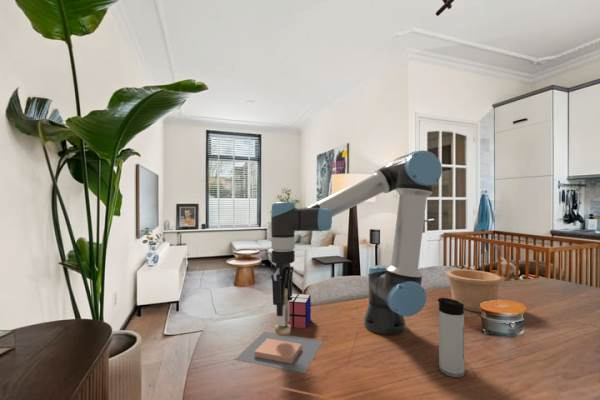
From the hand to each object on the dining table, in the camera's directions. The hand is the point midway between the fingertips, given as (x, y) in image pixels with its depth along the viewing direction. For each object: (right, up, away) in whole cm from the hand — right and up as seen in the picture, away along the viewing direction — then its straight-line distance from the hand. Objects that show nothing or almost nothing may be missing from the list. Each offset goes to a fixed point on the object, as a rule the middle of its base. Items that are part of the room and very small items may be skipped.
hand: (283, 322), depth 93 cm
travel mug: (+48, -9, -12) cm, 50 cm away
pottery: (+85, -9, +40) cm, 94 cm away
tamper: (0, -3, 0) cm, 3 cm away
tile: (0, -7, +1) cm, 7 cm away
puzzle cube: (+4, -9, +21) cm, 23 cm away
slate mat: (0, -9, -1) cm, 9 cm away
